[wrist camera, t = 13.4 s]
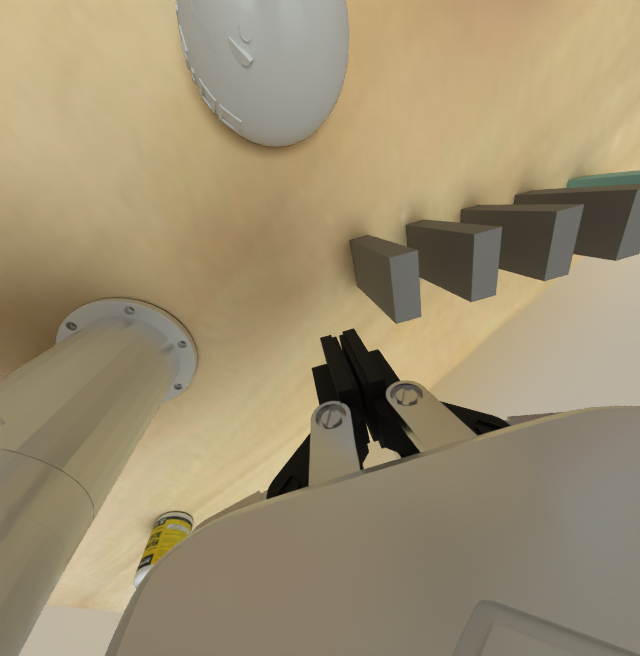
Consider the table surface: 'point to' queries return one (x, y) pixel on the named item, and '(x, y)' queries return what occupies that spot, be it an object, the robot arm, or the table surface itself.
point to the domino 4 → (606, 179)
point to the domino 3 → (532, 236)
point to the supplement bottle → (163, 540)
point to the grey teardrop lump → (267, 63)
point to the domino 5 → (599, 217)
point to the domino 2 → (457, 256)
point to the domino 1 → (388, 276)
